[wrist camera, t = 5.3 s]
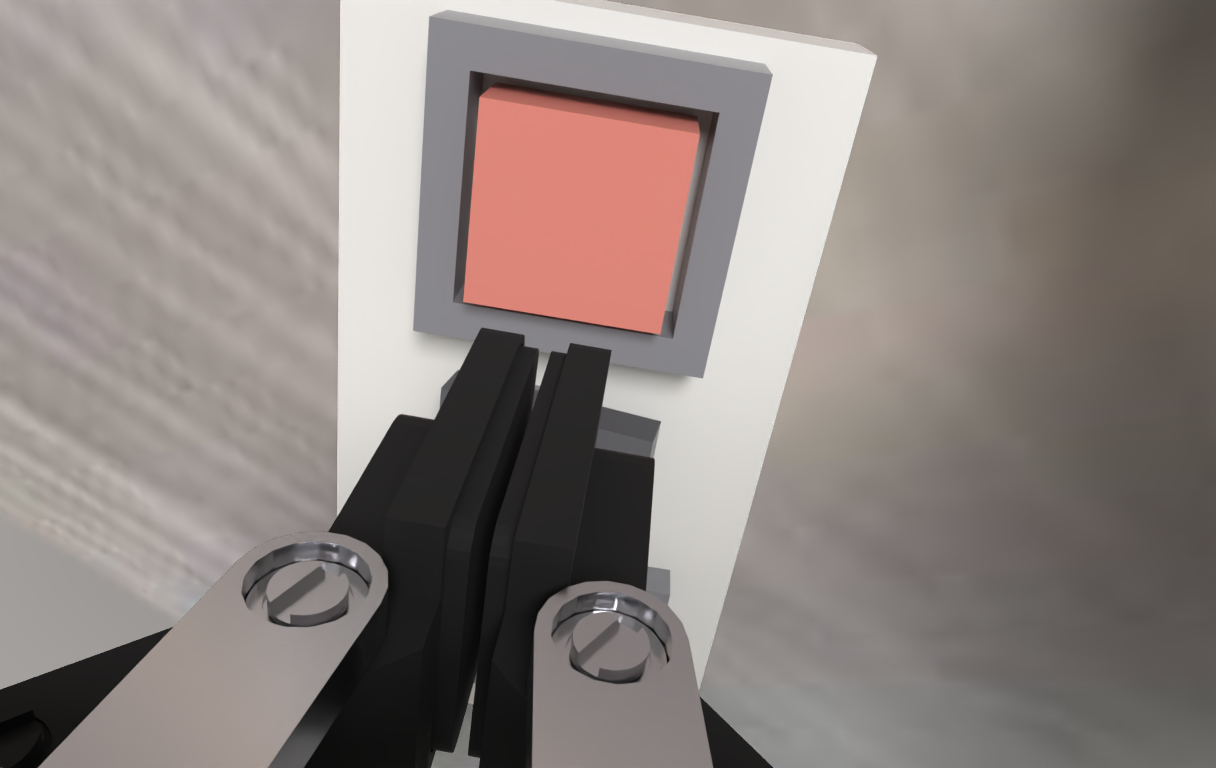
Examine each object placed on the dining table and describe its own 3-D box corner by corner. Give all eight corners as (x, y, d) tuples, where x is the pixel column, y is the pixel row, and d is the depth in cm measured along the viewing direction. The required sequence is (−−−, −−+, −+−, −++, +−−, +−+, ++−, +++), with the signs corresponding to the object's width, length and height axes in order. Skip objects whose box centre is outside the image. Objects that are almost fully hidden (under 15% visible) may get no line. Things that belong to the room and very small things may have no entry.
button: (496, 82, 21) (479, 96, 20) (697, 116, 21) (699, 134, 20) (479, 272, 24) (463, 301, 22) (660, 302, 24) (660, 334, 22)
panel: (372, -40, 23) (313, -33, 19) (857, 43, 23) (894, 66, 19) (357, 633, 34) (318, 722, 30) (684, 685, 34) (686, 780, 31)
